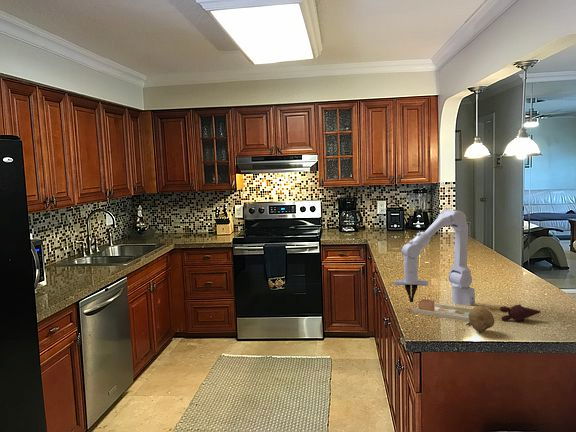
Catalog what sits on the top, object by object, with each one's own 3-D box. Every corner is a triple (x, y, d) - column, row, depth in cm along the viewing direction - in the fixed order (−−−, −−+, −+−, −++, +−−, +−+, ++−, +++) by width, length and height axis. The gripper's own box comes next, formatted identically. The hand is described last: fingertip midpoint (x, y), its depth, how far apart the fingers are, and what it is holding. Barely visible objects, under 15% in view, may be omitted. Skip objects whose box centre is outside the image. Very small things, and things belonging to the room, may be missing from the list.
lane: (483, 317, 201) (483, 309, 201) (472, 325, 191) (471, 317, 191) (425, 307, 218) (424, 300, 218) (411, 315, 208) (411, 307, 208)
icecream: (536, 302, 197) (497, 305, 200) (541, 303, 190) (500, 305, 193) (539, 319, 196) (500, 322, 199) (544, 321, 189) (503, 323, 192)
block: (434, 310, 208) (434, 300, 208) (429, 313, 204) (429, 303, 204) (423, 309, 211) (423, 299, 211) (418, 312, 208) (418, 301, 207)
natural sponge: (488, 327, 188) (487, 302, 187) (498, 335, 180) (498, 309, 179) (465, 329, 188) (464, 304, 187) (474, 336, 179) (474, 310, 178)
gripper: (427, 269, 213) (428, 299, 214) (394, 269, 216) (394, 298, 218) (428, 272, 206) (428, 303, 207) (393, 272, 210) (394, 303, 211)
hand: (411, 301), depth 212 cm, fingers closed
